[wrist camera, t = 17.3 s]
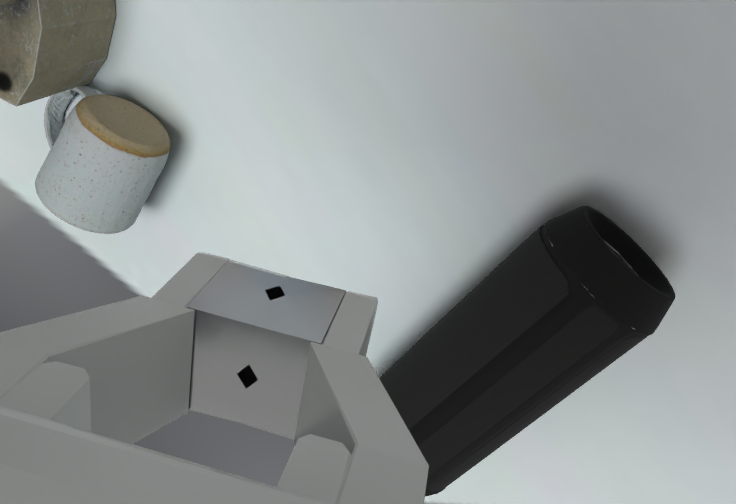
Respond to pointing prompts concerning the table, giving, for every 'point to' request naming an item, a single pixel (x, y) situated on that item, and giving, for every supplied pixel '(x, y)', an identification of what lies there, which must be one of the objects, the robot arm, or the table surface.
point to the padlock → (51, 45)
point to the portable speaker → (526, 340)
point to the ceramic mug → (100, 160)
